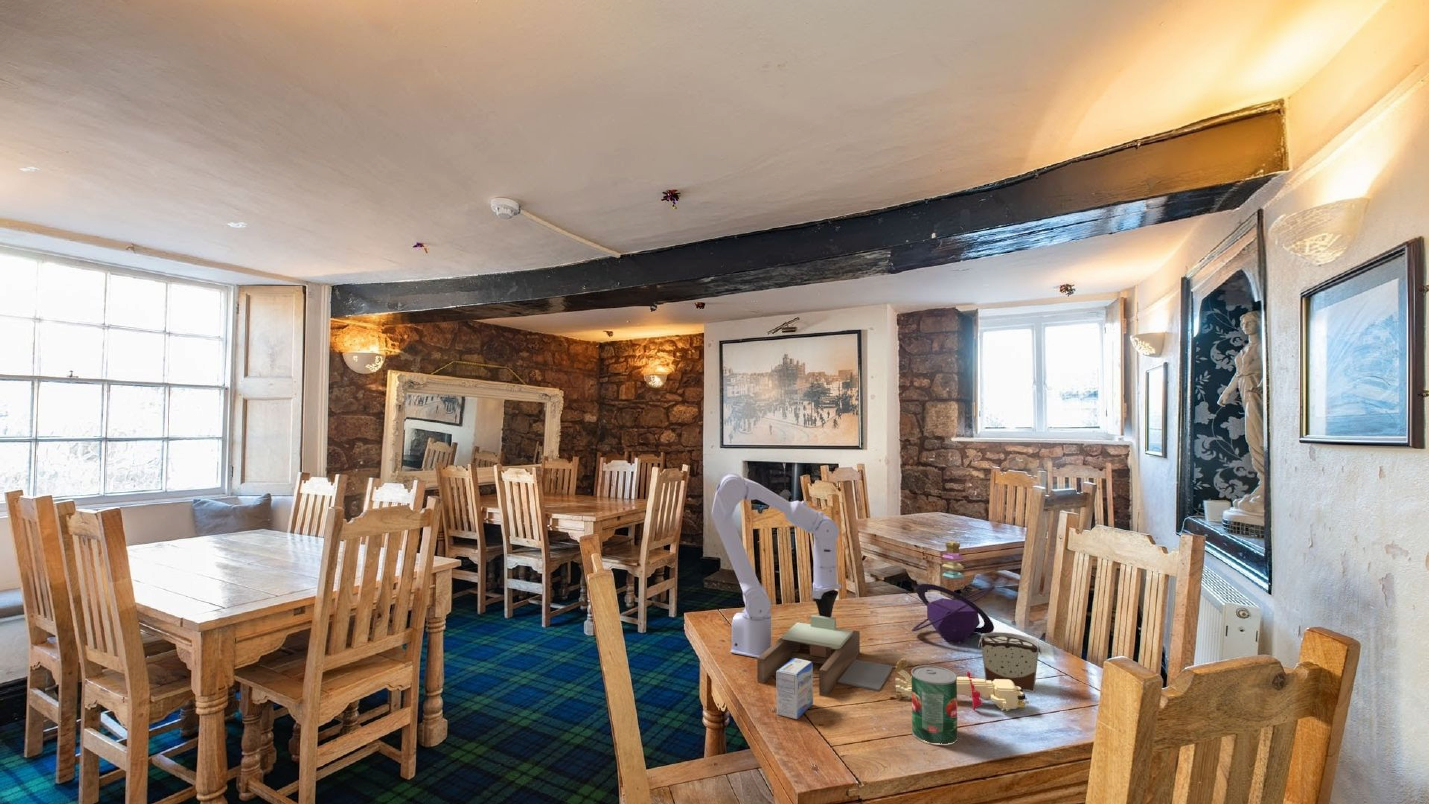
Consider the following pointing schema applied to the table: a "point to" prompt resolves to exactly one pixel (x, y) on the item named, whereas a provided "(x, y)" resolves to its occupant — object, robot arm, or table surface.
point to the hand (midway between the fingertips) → (825, 620)
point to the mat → (866, 675)
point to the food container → (1010, 658)
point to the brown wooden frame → (827, 673)
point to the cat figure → (972, 689)
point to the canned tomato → (934, 704)
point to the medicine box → (794, 688)
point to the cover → (819, 632)
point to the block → (820, 651)
